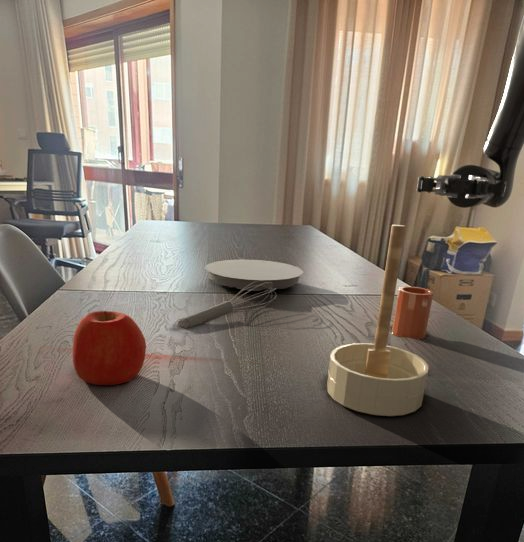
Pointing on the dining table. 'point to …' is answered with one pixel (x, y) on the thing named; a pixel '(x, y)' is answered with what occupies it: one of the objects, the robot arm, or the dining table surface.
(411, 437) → the dining table surface
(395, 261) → the wooden stick
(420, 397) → the mixing bowl
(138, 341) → the apple
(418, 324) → the crock
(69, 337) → the dining table surface
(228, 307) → the kitchen whisk
